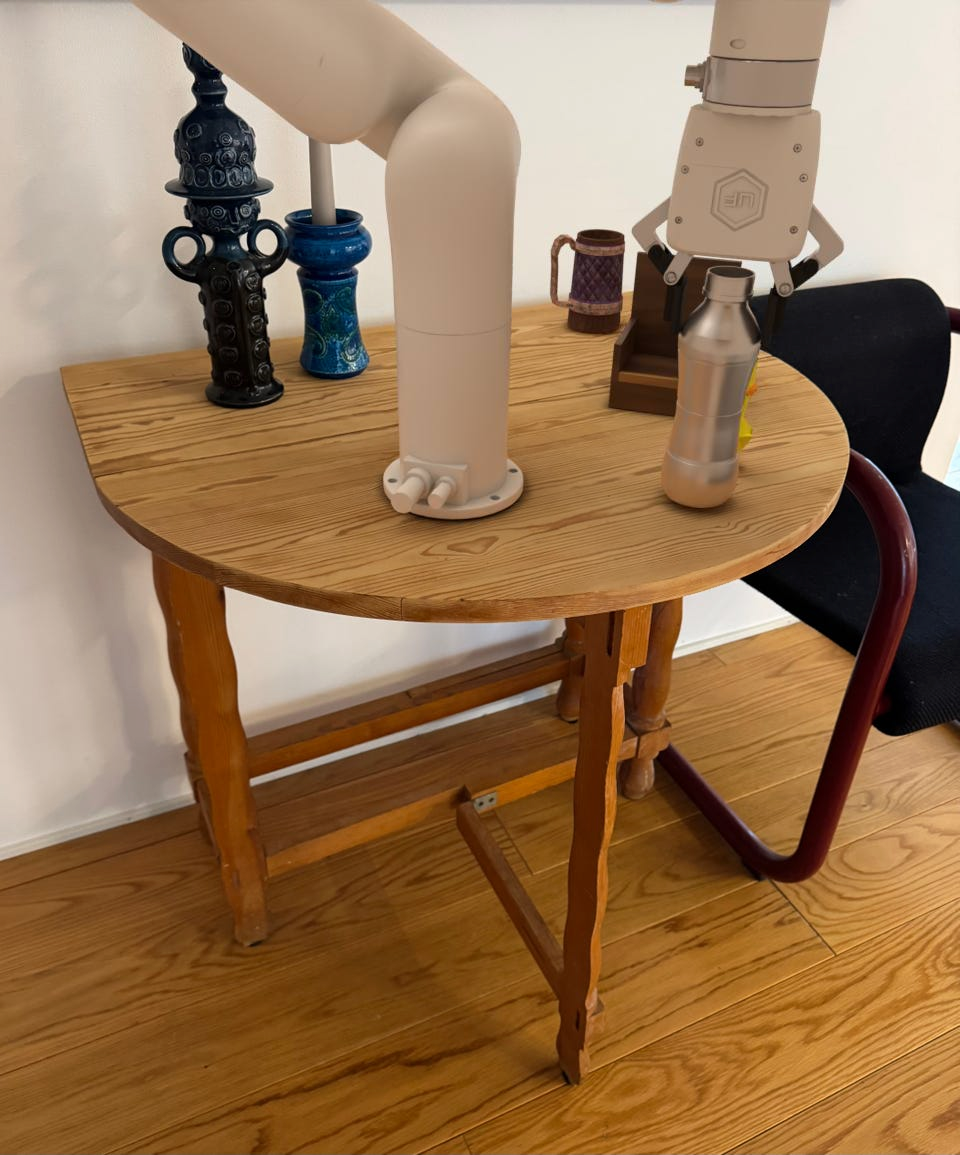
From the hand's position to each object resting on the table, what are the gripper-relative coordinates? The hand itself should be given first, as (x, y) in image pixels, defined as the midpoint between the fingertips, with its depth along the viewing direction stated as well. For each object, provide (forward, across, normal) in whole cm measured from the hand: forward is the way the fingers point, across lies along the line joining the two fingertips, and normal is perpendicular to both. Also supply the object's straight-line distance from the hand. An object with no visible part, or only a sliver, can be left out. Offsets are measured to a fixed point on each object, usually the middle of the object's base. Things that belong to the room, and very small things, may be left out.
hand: (720, 334), depth 76 cm
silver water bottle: (+15, 0, 0) cm, 15 cm away
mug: (+15, -20, +43) cm, 50 cm away
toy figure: (+15, +2, +8) cm, 17 cm away
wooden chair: (+15, -6, +23) cm, 28 cm away
